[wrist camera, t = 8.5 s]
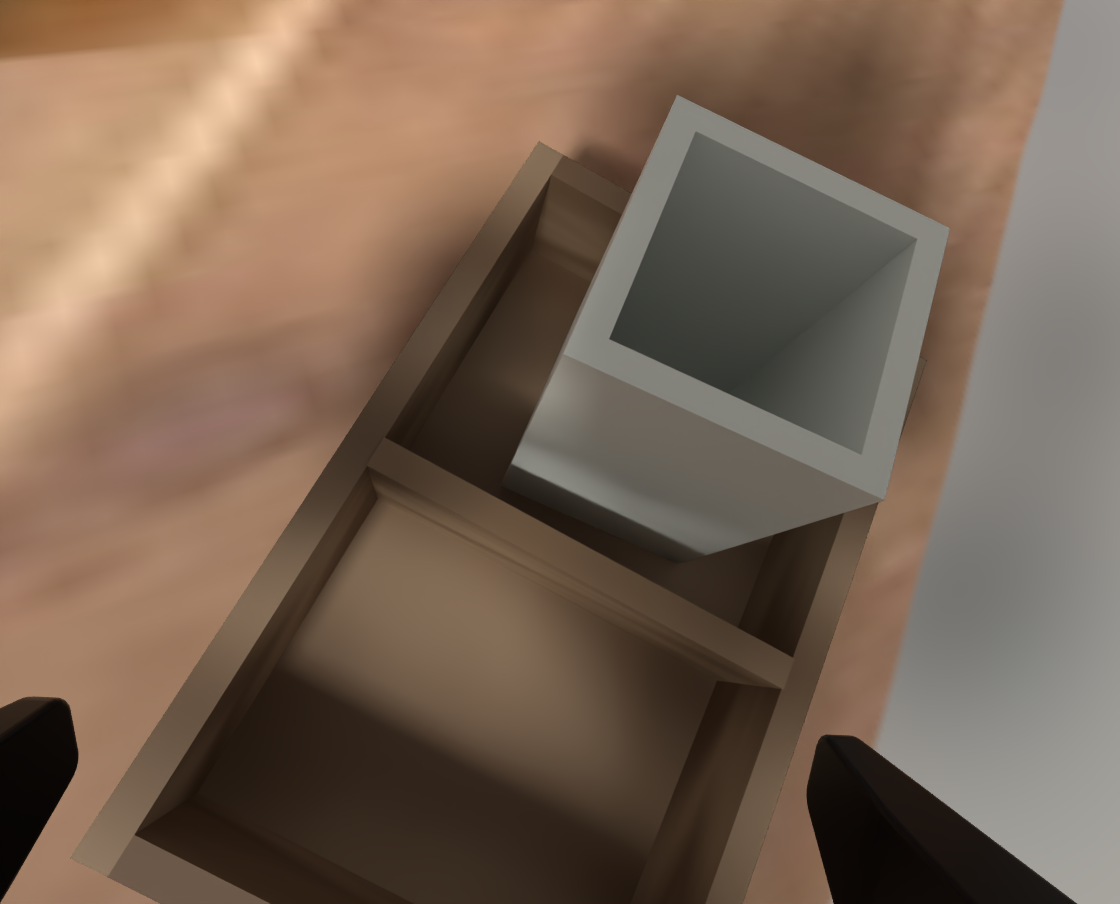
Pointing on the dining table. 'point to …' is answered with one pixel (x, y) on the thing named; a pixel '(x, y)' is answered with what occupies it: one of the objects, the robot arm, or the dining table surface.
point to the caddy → (734, 349)
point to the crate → (483, 650)
